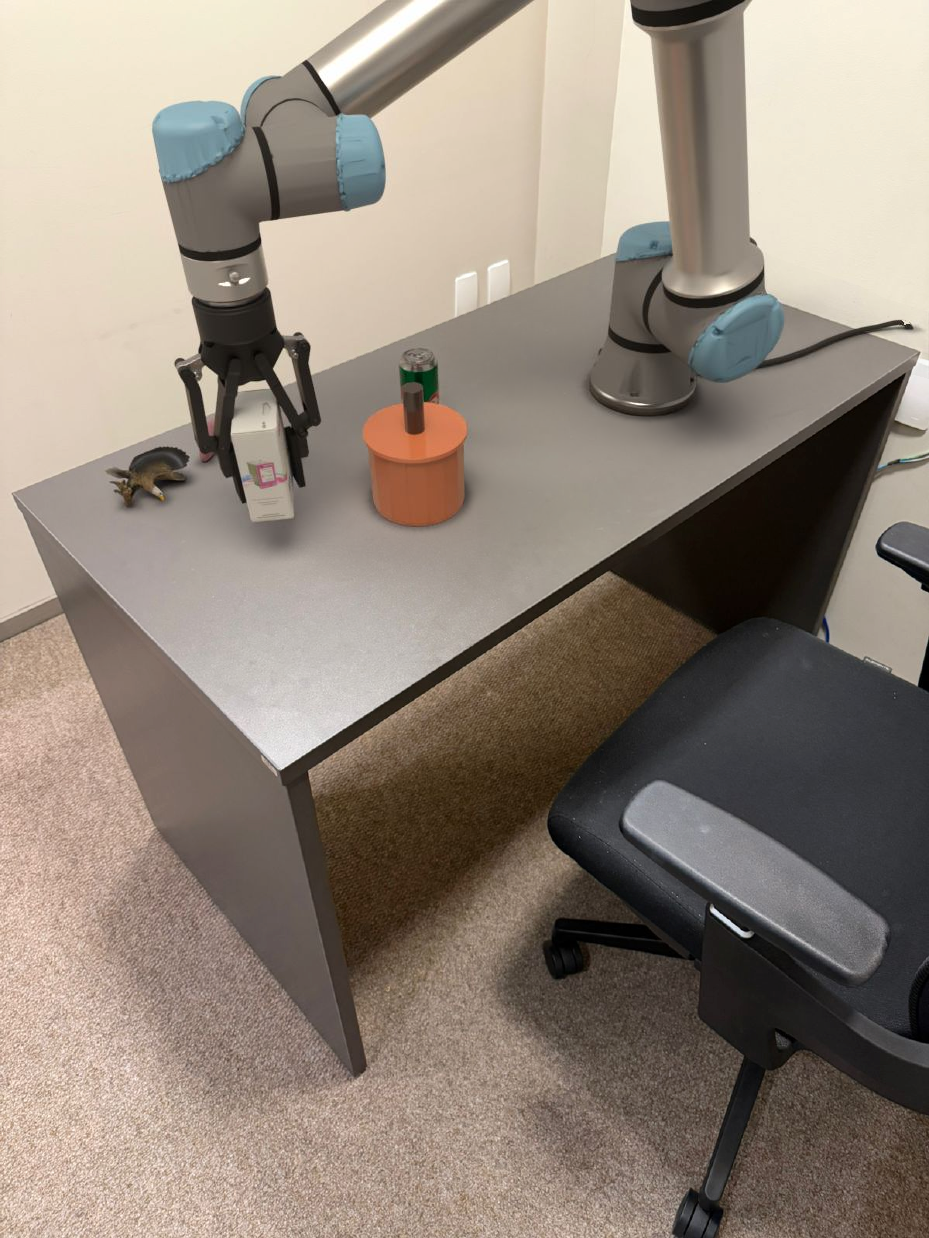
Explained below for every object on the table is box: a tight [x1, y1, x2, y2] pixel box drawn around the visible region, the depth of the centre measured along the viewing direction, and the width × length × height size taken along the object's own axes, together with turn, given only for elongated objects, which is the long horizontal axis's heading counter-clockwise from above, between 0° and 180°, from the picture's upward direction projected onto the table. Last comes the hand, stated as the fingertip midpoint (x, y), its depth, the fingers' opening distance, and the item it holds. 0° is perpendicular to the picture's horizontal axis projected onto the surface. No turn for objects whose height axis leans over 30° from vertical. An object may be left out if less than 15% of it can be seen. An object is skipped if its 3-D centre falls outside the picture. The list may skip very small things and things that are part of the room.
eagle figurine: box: [104, 445, 191, 507], centre depth 108 cm, size 8×7×9 cm
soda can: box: [398, 347, 440, 405], centre depth 115 cm, size 5×5×12 cm
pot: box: [367, 443, 465, 527], centre depth 106 cm, size 11×11×10 cm
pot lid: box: [362, 382, 468, 463], centre depth 100 cm, size 12×12×7 cm
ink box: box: [231, 388, 295, 523], centre depth 95 cm, size 9×5×12 cm, turn 9°
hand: (271, 488), depth 98 cm, fingers closed on ink box, 6 cm apart
